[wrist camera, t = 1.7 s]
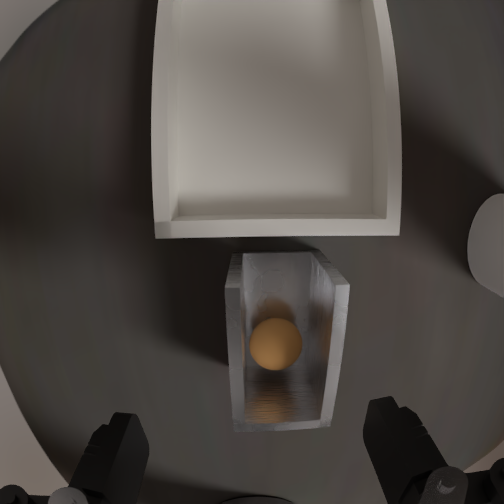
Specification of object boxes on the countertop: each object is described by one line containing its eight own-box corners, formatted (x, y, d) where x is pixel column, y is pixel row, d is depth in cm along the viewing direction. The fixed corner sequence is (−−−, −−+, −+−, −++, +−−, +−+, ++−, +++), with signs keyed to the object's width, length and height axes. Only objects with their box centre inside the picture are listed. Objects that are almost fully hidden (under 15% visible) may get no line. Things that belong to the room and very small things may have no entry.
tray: (377, 225, 18) (399, 235, 15) (170, 227, 18) (155, 238, 15) (364, -2, 14) (380, -23, 11) (173, -6, 14) (162, -30, 11)
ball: (311, 341, 18) (315, 342, 16) (278, 377, 18) (275, 384, 15) (275, 309, 19) (272, 304, 16) (242, 345, 19) (233, 345, 16)
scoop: (312, 365, 20) (330, 426, 14) (237, 368, 20) (233, 431, 14) (319, 249, 18) (349, 284, 12) (232, 251, 18) (224, 288, 12)
